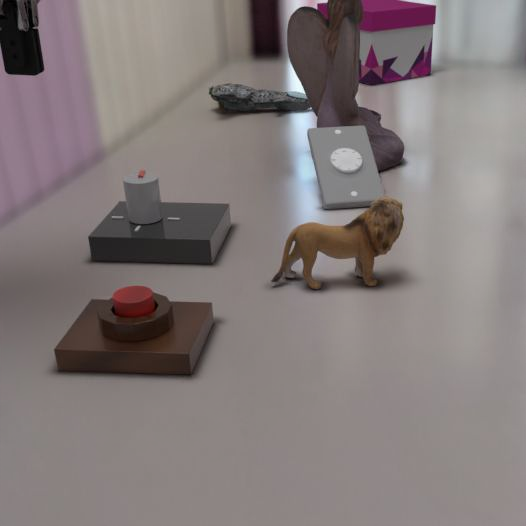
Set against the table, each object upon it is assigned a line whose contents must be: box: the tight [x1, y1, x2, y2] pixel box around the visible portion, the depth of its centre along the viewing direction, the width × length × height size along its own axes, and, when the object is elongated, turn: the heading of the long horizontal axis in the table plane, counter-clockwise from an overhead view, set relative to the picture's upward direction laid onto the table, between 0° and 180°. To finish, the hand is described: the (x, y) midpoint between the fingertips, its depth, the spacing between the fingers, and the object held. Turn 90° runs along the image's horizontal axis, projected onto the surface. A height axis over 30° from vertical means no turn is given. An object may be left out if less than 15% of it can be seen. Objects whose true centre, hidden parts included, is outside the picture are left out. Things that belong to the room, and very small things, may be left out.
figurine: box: [286, 0, 405, 172], centre depth 121 cm, size 18×15×25 cm
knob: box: [122, 169, 163, 224], centre depth 94 cm, size 4×4×5 cm
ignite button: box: [111, 285, 155, 318], centre depth 73 cm, size 4×4×2 cm
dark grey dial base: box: [87, 200, 232, 265], centre depth 96 cm, size 14×12×3 cm
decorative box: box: [316, 0, 437, 86], centre depth 183 cm, size 19×19×15 cm
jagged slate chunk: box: [208, 82, 311, 113], centre depth 154 cm, size 16×20×5 cm
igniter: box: [53, 291, 215, 376], centre depth 74 cm, size 12×10×4 cm
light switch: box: [306, 126, 386, 210], centre depth 113 cm, size 8×6×14 cm
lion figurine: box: [270, 196, 405, 290], centre depth 86 cm, size 15×5×9 cm, turn 104°
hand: (25, 72), depth 77 cm, fingers closed
